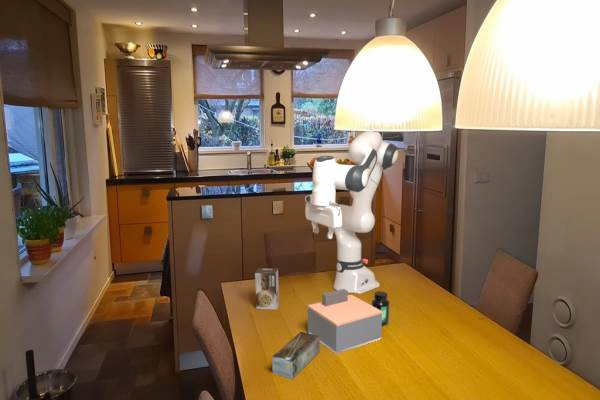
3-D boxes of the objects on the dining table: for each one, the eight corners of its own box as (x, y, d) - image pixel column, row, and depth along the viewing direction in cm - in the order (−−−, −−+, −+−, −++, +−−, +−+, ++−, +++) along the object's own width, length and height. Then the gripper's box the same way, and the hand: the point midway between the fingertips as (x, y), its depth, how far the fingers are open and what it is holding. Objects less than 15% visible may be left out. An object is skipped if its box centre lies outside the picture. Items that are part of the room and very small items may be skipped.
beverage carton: (270, 373, 140) (270, 354, 139) (300, 346, 156) (300, 329, 155) (292, 380, 136) (292, 360, 135) (320, 352, 152) (320, 334, 151)
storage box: (350, 320, 176) (351, 296, 174) (381, 339, 161) (382, 313, 159) (307, 332, 166) (307, 307, 164) (336, 354, 151) (336, 326, 149)
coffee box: (279, 303, 192) (279, 268, 189) (276, 310, 186) (276, 273, 183) (258, 303, 193) (257, 267, 190) (255, 309, 187) (254, 272, 184)
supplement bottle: (387, 327, 170) (388, 297, 168) (369, 324, 173) (370, 295, 170) (389, 320, 177) (391, 291, 175) (372, 317, 179) (373, 289, 177)
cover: (351, 296, 174) (351, 284, 173) (382, 313, 159) (382, 300, 158) (307, 307, 164) (308, 295, 163) (336, 326, 149) (336, 313, 148)
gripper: (347, 203, 160) (345, 240, 162) (316, 195, 177) (315, 229, 179) (332, 204, 157) (331, 242, 159) (302, 196, 174) (302, 230, 176)
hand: (322, 235), depth 169 cm, fingers open, 8 cm apart
